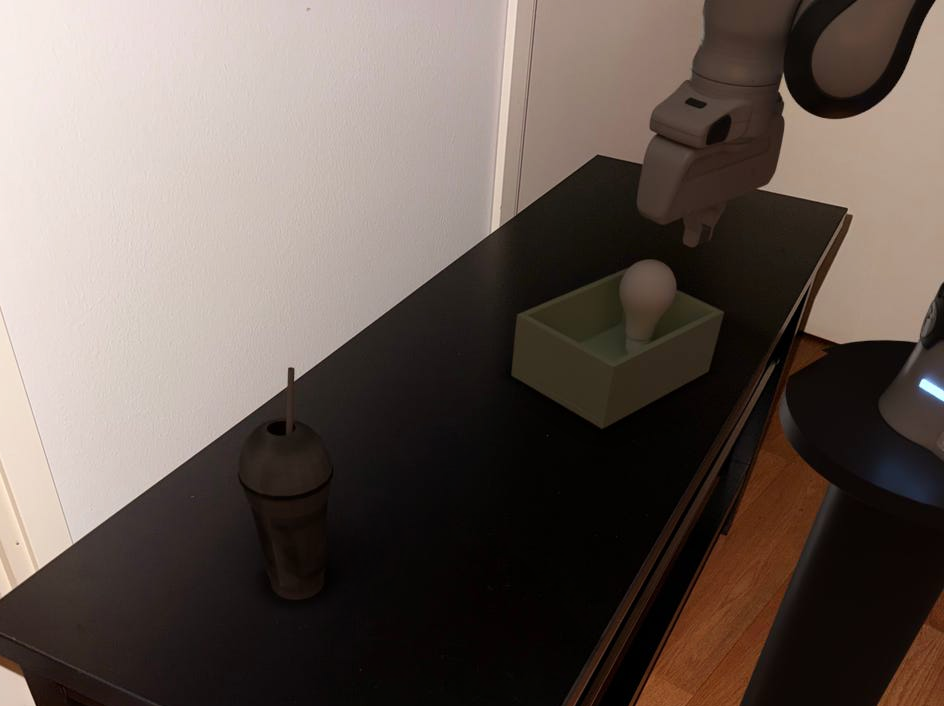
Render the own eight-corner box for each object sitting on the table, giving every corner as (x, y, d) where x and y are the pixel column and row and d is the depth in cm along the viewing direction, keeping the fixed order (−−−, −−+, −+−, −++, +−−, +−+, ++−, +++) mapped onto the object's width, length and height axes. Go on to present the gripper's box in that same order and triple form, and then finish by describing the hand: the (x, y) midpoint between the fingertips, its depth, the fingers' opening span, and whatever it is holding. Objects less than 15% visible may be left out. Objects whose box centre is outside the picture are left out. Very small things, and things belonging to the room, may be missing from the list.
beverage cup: (242, 568, 81) (207, 358, 67) (320, 544, 84) (303, 337, 70) (273, 622, 77) (243, 410, 63) (354, 594, 80) (344, 385, 65)
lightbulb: (667, 350, 110) (688, 257, 102) (652, 374, 106) (673, 280, 98) (617, 337, 111) (634, 244, 103) (600, 360, 107) (617, 266, 99)
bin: (618, 325, 115) (629, 266, 110) (708, 371, 108) (724, 311, 103) (510, 375, 106) (516, 314, 100) (602, 429, 99) (613, 366, 94)
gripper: (761, 79, 101) (728, 210, 111) (639, 114, 91) (615, 256, 101) (812, 95, 98) (773, 229, 108) (692, 134, 88) (661, 278, 98)
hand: (696, 242), depth 104 cm, fingers closed
